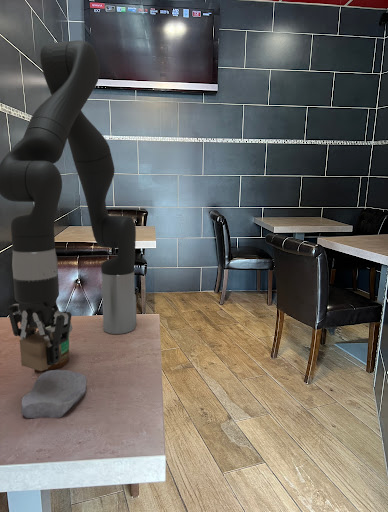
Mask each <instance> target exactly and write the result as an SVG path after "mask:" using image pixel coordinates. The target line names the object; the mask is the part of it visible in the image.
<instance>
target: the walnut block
mask: <svg viewBox="0 0 388 512" xmlns="http://www.w3.org/2000/svg"><path fill="white" fill-rule="evenodd" d="M50 337H51V339H53V336H52V334H51V333H50ZM46 347H47V346H46V343H45V340H44V337H43V336H41V335H40V332H38V333H35V334H33V335H31V336H29V337H26V338H24V339H22V340H21V339H20V340H19V349H20V359H21V360H20V362H21V366H22V367H26V368H28V369H32V370H34V369H35V370H39V371H43V370H45V369H46V368H48V367H50V366H51V365H48V364H47V353H46ZM59 355H60V358H59V360H58V362H59V361H61V360H62V356H61V344H60V345H59Z"/></svg>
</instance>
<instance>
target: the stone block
mask: <svg viewBox="0 0 388 512" xmlns="http://www.w3.org/2000/svg"><path fill="white" fill-rule="evenodd" d="M87 381H88V380H87V377H86V375H84V374H82V373H81V372H76V371H71V370H68V369H65V370H63V369H58V370H50V371H47V372H44V373H40V375H39V376H38V378H37V379H36V380H35V382H34V384H33V386H32V388H31V390H30V391H29V392H28V393H27V394H25V395H24V396H23V397H22V399H21V403H20V404H21V415H22V416H23V417H24V418H25V419H40V418H50V419H59V418H62V417H63V416H64V415H66V413H67V412H68V411H69V410H70V409H71V408H72V407H74V405H76V404H78V402H79V401H80V400H81V399H82V397H83V396H85V395H86V393H87V391H86V390H87V389H86V388H87V387H86V386H87V383H88V382H87Z"/></svg>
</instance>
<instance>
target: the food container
mask: <svg viewBox="0 0 388 512" xmlns="http://www.w3.org/2000/svg"><path fill="white" fill-rule="evenodd" d="M49 328H51V325H50V326H49V327H46V330H47V329H49ZM72 330H73V325H72V321H71V322H70V329H69V335H68V340H67V341H66V342H64V343H62V344H61V356H62V360H61V361H59V362H57V363H55V364H53V365H52V366H50V367H48V368H46V369H45V370H43V371H39V370H35V369H33V370H34V373H38V374H43V373H45V372H47V371H50V370H61V369H62V368H64V367H65V366H66V365H68V364H69V361H70V360H69V359H70V357H69V355H70V334H71V332H72ZM38 332H39V329H38V330H36V333H38ZM51 334H52V333H51Z"/></svg>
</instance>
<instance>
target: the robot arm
mask: <svg viewBox="0 0 388 512" xmlns="http://www.w3.org/2000/svg"><path fill="white" fill-rule="evenodd" d="M39 53H40V55H39V58H40V59H39V60H40V66H41V69H42V74H43V77H44V80H45V83H46V84H47V88H48V90H49V93H50V96H49V97H48V98H47V99H46V100H44V101H43V102H42V103H41V104H40V105H39V106H38V107H37V108H36V110H35V111H34V113H33V114H32V116H31V117H30V120H29V122H28V125H27V127H26V130H25V132H24V135H23V137H22V138H21V140H19V141H18V142H17V143H16V144H15V146H14V147H12V148H11V149H10V151H9V152H8V153H7V154H6V155H5V156H4V157H3V159H2V160H1V162H0V196H1V197H3V199H5V200H7V201H10V202H16V203H19V202H21V203H26V202H27V203H34V204H33V208H32V210H31V212H30V213H29V214H26V215H25V214H23V215H19V216H17V217H14V218H13V219H12V221H11V223H10V233H11V244H12V257H11V262H12V263H11V266H12V278H13V290H14V291H13V293H14V299H15V301H16V302H17V303H14V304H12V305H8V306H7V308H6V309H7V313H8V317H9V321H10V325H11V330H12V333H13V335H14V336H15V337H20V340H22V339H24V338H26V337H29V336H31V335H33V334H35V333H36V332H37V329H38V330H39V332H40V335H41V336H43V337H44V340H45V343H46V346H47V347H46V353H47V364H48V365H51V366H52V365H53V364H55V363H57V362H58V360H59V358H60V355H59V345H60V344H62V343H64V342H66V341H67V340H68V335H69V336H70V333H69V329H70V322H71V323H72V314H71V312H70V311H67V312H62V311H60V310H59V307H58V304H57V300H58V297H59V296H60V287H59V286H60V285H59V271H58V270H59V269H58V257H57V253H56V252H57V251H56V241H55V224H56V222H55V221H56V216H57V211H58V206H59V203H60V199H61V195H62V189H63V178H62V174H61V172H60V170H59V169H58V167H57V166H56V165H55V164H56V163H57V162H59V160H60V159H61V157H62V156H63V152H64V150H65V147H66V143H67V141H68V144H69V149H70V152H71V157H72V159H73V164H74V166H75V169H76V173H77V175H78V178H79V181H80V184H81V187H82V190H83V195H84V199H85V201H86V207H87V211H88V216H89V219H90V220H89V221H90V224H91V231H92V234H93V238H94V241H95V242H96V244H97V245H98V246H99V247H101V248H106V249H117V255H116V256H115V257H113V258H109V259H106V260H104V261H103V262H101V264H100V266H101V267H100V268H101V269H100V271H101V272H100V273H101V294H102V300H101V301H102V323H103V324H102V327H103V331H104V332H105V333H108V334H113V335H121V334H127V333H130V332H132V331H134V330H135V328H136V325H138V324H137V295H136V294H135V291H136V290H135V262H136V239H137V231H136V223H135V221H134V219H133V218H132V217H131V216H129V215H110V214H109V213H108V210H107V204H106V199H107V195H108V192H109V190H110V187H111V184H112V182H113V179H114V176H115V165H114V160H113V157H112V151H111V147H110V144H109V143H108V141H107V139H106V138H105V137H104V135H103V134H102V133H101V132H100V131H99V130H98V129H97V127H96V126H95V125H94V124H93V123H92V122H91V121H90V120H89V119H88V117H86V116H85V114H84V112H83V111H82V109H83V108H84V106H85V104H86V103H87V101H88V100H89V98H90V96H91V95H92V93H93V91H94V90H95V88H96V86H97V84H98V81H99V79H100V73H101V72H100V70H101V69H100V68H101V67H100V62H99V58H98V55H97V53H96V49H95V48H94V46H92V44H91V43H89V42H88V41H85V40H79V39H78V40H65V41H58V42H50V43H46V44H43V45H42V47H41V48H40V52H39ZM18 323H19V324H20V328H19V324H18ZM50 325H51V328H49V329H47V330H46V327H49V326H50ZM50 333H52V336H53V339H51V337H50Z"/></svg>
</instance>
